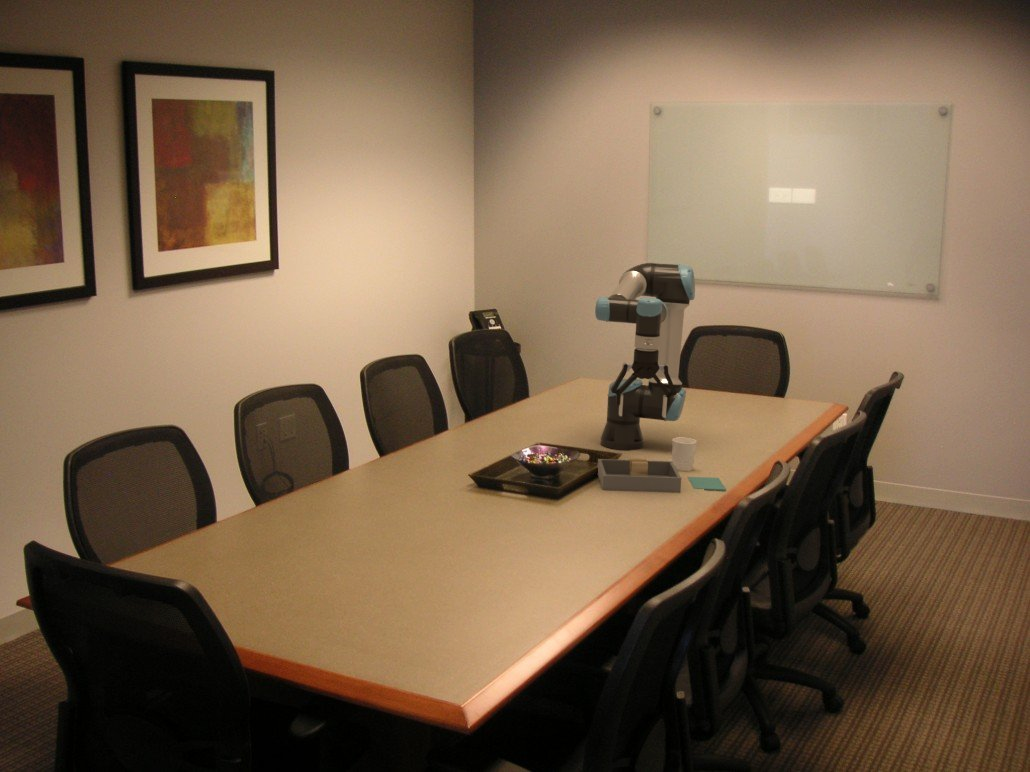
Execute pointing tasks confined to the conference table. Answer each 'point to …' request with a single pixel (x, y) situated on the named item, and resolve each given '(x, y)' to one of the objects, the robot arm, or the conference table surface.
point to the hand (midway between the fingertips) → (642, 416)
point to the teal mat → (707, 483)
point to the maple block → (638, 467)
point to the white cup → (683, 453)
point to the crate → (657, 479)
